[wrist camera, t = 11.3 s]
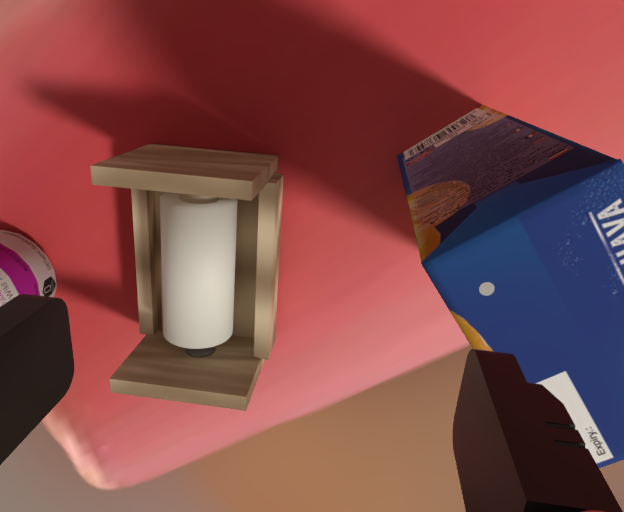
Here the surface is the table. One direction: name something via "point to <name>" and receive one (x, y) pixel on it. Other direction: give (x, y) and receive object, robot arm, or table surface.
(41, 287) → the supplement can
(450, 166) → the beverage box
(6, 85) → the table surface
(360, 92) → the table surface
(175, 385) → the roll holder
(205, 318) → the paper roll
